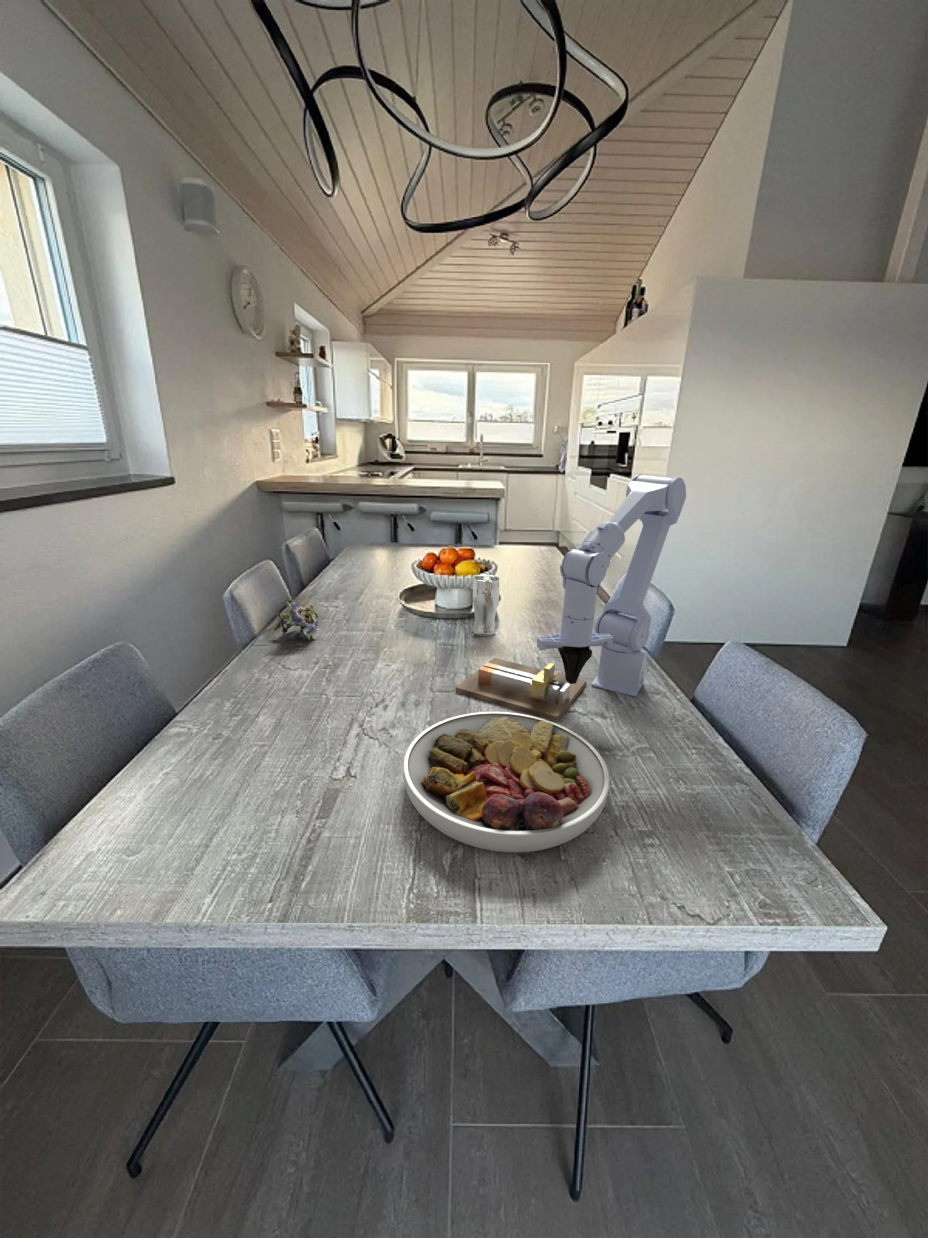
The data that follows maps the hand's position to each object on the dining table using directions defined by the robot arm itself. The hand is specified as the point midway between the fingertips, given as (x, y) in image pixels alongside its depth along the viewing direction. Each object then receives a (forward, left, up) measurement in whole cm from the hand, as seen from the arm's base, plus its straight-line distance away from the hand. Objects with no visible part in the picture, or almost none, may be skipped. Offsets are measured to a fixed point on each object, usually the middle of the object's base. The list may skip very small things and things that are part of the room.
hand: (570, 681), depth 102 cm
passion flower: (+70, +3, -6) cm, 70 cm away
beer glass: (+33, -28, -6) cm, 43 cm away
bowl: (0, +29, -6) cm, 30 cm away
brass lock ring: (+5, 0, -4) cm, 7 cm away
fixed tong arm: (+10, 0, -5) cm, 11 cm away
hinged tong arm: (+10, -1, -4) cm, 11 cm away
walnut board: (+11, -3, -6) cm, 13 cm away
